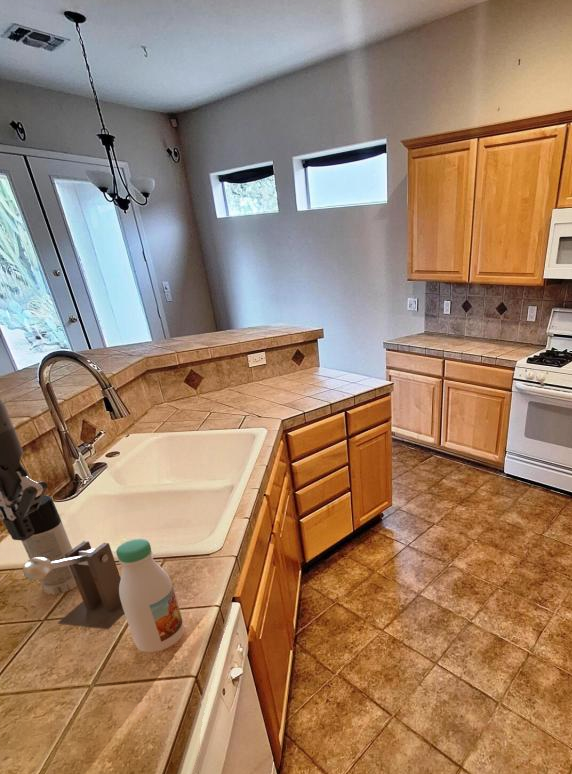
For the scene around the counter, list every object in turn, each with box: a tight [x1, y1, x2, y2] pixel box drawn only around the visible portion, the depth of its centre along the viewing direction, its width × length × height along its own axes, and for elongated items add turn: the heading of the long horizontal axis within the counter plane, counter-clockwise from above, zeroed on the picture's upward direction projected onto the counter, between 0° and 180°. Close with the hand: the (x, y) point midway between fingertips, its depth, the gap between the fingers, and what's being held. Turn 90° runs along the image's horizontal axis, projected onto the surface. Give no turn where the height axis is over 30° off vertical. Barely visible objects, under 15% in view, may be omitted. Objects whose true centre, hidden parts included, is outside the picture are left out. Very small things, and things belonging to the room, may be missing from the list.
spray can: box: [21, 494, 78, 595], centre depth 83 cm, size 7×7×20 cm
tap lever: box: [22, 548, 96, 581], centre depth 72 cm, size 13×4×4 cm, turn 173°
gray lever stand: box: [57, 540, 125, 630], centre depth 80 cm, size 12×10×14 cm
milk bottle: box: [115, 538, 185, 653], centre depth 72 cm, size 8×8×20 cm
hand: (24, 537), depth 65 cm, fingers closed
